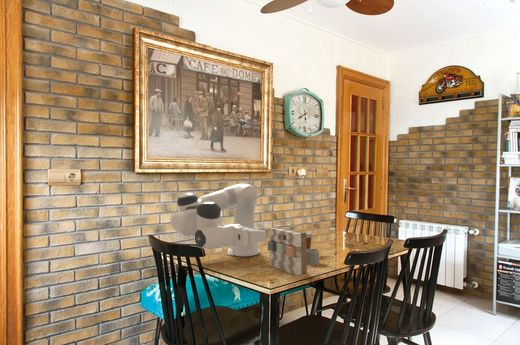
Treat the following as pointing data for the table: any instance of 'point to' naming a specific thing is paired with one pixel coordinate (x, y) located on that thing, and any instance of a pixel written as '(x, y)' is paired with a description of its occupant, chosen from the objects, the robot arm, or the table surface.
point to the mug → (312, 256)
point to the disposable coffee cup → (308, 239)
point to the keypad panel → (283, 261)
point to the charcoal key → (272, 246)
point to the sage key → (280, 248)
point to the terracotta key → (290, 251)
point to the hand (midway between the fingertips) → (264, 231)
